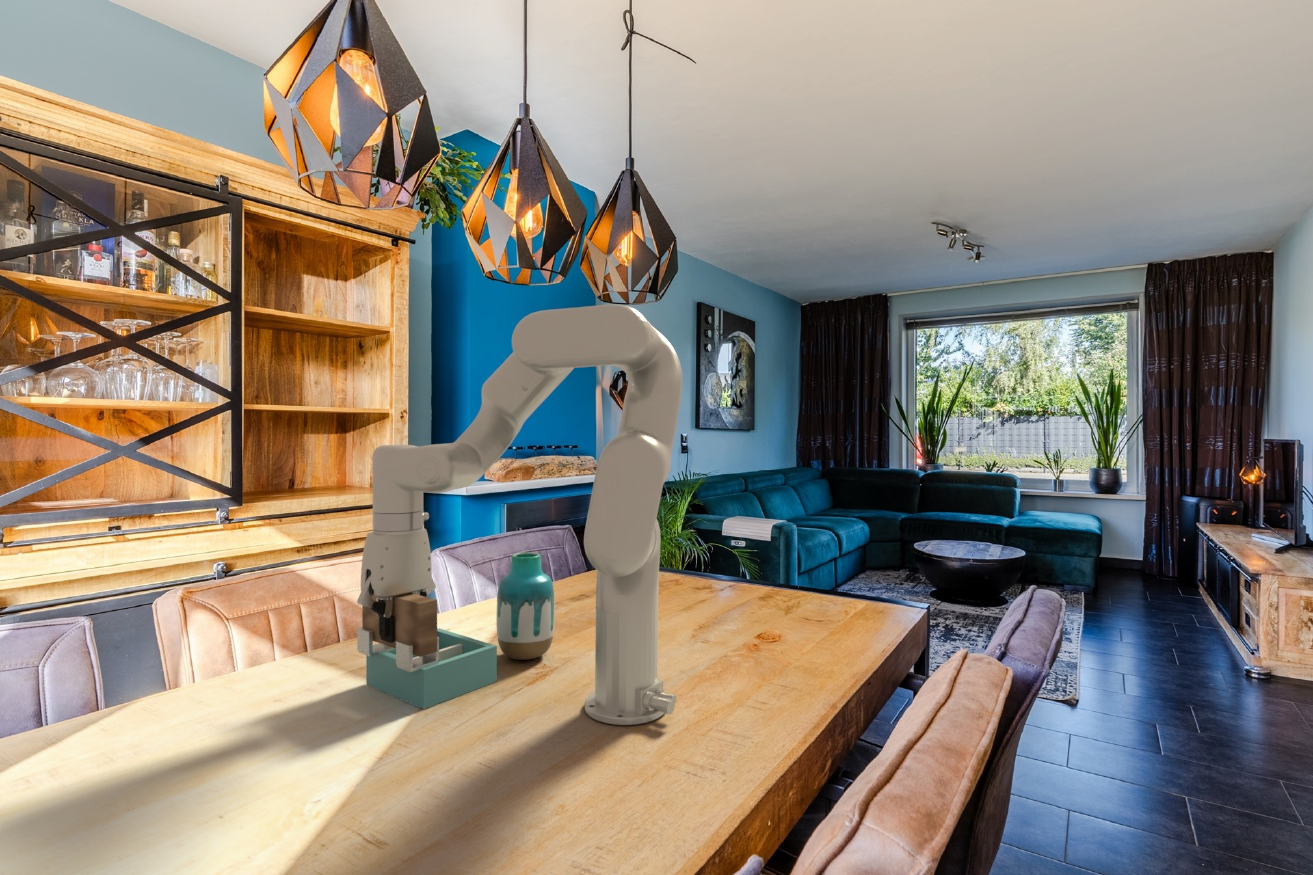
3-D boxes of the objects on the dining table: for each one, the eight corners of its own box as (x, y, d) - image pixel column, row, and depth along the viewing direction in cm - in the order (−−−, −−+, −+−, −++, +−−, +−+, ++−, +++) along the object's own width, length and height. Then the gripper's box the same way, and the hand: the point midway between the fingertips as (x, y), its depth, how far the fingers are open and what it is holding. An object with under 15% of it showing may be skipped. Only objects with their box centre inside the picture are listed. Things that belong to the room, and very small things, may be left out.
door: (362, 637, 108) (362, 588, 108) (379, 632, 111) (379, 585, 111) (420, 656, 99) (419, 603, 99) (437, 651, 101) (437, 599, 101)
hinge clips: (439, 662, 103) (439, 637, 103) (409, 672, 98) (409, 646, 98) (386, 644, 111) (386, 620, 111) (357, 652, 107) (357, 627, 107)
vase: (483, 661, 121) (484, 556, 120) (521, 644, 130) (522, 547, 130) (530, 671, 116) (530, 562, 115) (565, 653, 125) (566, 552, 125)
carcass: (496, 681, 111) (496, 645, 111) (423, 709, 100) (423, 669, 100) (438, 660, 120) (439, 628, 120) (366, 684, 109) (366, 648, 109)
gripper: (428, 515, 113) (429, 621, 114) (335, 526, 100) (335, 646, 100) (456, 519, 109) (456, 629, 109) (361, 531, 96) (362, 656, 96)
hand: (398, 636), depth 105 cm, fingers closed on door, 3 cm apart
